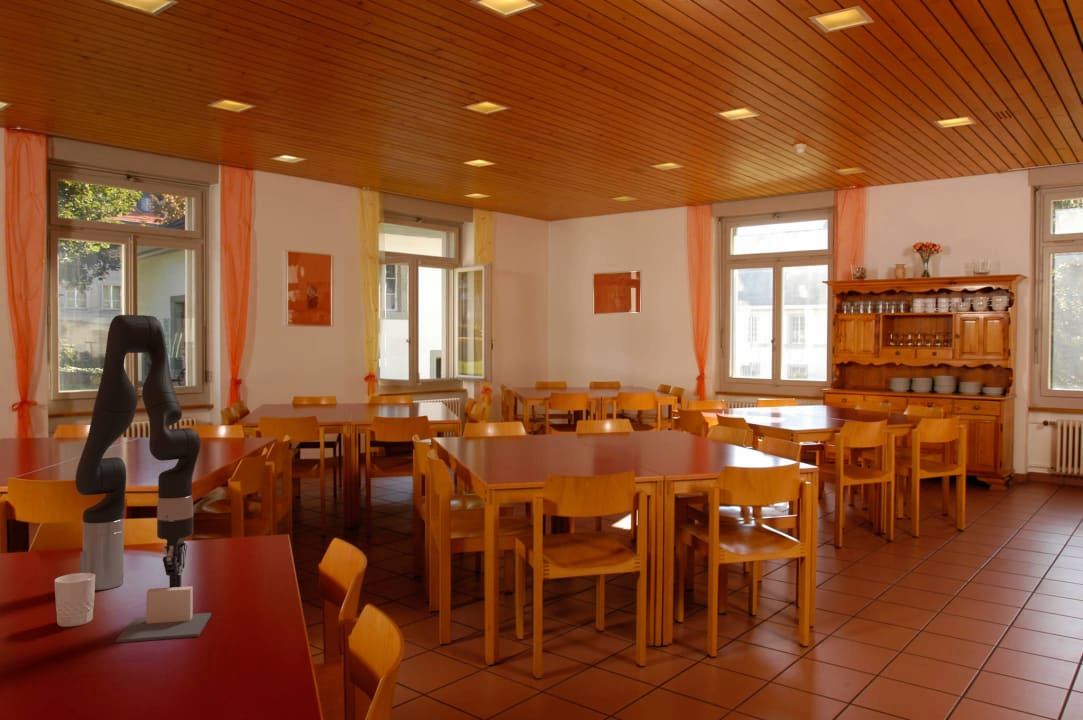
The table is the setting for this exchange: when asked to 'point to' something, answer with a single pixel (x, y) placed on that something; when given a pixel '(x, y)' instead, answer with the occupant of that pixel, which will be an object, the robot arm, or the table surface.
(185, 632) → the mat
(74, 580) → the white cup
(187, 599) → the beige flat block
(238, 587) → the table surface
